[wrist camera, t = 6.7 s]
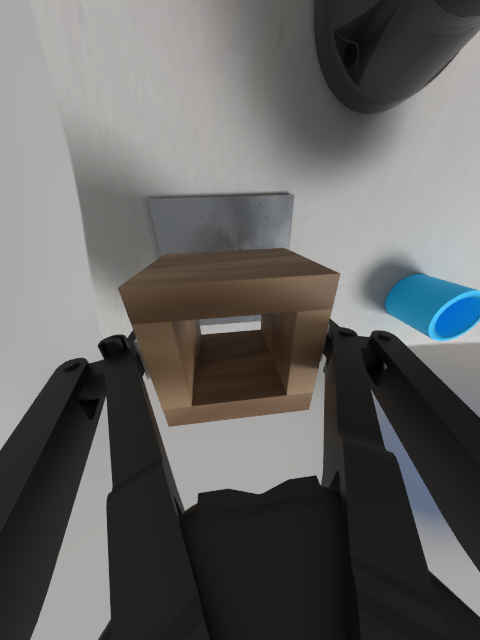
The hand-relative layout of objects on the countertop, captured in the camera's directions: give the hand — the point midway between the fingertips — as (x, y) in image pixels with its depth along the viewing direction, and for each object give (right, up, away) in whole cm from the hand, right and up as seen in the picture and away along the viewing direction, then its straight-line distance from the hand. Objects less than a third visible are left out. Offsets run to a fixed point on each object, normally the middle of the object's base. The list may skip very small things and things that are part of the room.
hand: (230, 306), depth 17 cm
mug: (+33, +3, +17) cm, 37 cm away
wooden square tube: (0, -2, +2) cm, 3 cm away
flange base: (-1, +6, +11) cm, 13 cm away
